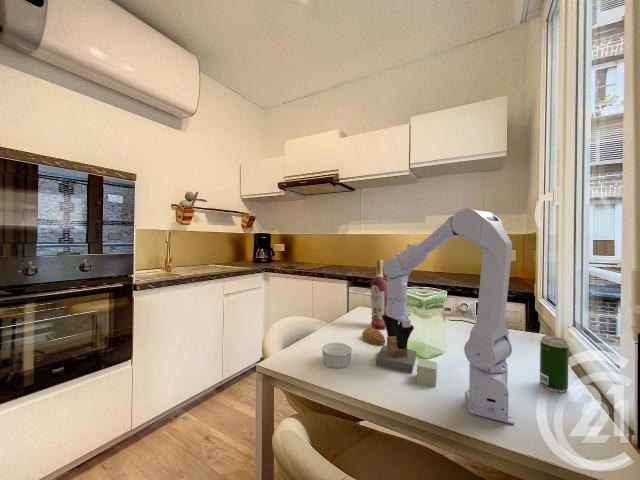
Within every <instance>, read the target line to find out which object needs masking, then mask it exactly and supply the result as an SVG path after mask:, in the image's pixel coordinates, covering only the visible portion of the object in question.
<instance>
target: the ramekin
mask: <svg viewBox="0 0 640 480" xmlns="http://www.w3.org/2000/svg"><path fill="white" fill-rule="evenodd" d="M321 350H322V360H323V363H324V365H325V366H327V367H329V368H331V369H345V368H346V367H348V366H349V365H350V363H351V356H352V351H353V349H352V347H351V345H348V344H346V343H342V342H329V343H326V344H324V345H322V347H321Z"/></svg>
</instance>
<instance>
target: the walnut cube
mask: <svg viewBox="0 0 640 480" xmlns="http://www.w3.org/2000/svg"><path fill="white" fill-rule="evenodd" d="M386 346H387V352H388V353H389V354H390V355H391V357H392V358H399V357H407V349H408V345H407V346H406V349H398V347H397V341H396V336H392V337H388V336H386Z"/></svg>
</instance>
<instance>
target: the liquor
mask: <svg viewBox="0 0 640 480" xmlns="http://www.w3.org/2000/svg"><path fill="white" fill-rule="evenodd" d="M383 266H384V259H376V274H375V278H374V279H372V280H371V281H370V300H371V301H370V304H371V322H370V325H371V326H372V328H374V329H376V330H384V329H386V326H385V323H384V320H383V318H382V315H386V313H385V307H387V279H385V278H384V270H383Z"/></svg>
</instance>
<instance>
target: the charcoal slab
mask: <svg viewBox="0 0 640 480" xmlns="http://www.w3.org/2000/svg"><path fill="white" fill-rule="evenodd" d="M416 353H417V351H416V350H414V349H412V350H411V349H408V348H407V357H399V358H392V357H391V355H390V354H389V353H388V352H387V345H385V344H382V346H381V348H380V350H379V352H378V353H377V355H376V356H375V367H380V368H383V369H388V370H393V371H398V372H403V373H407V374H413V371H414V367H415V362H416V360H417V359H416V357H417V355H416Z"/></svg>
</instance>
